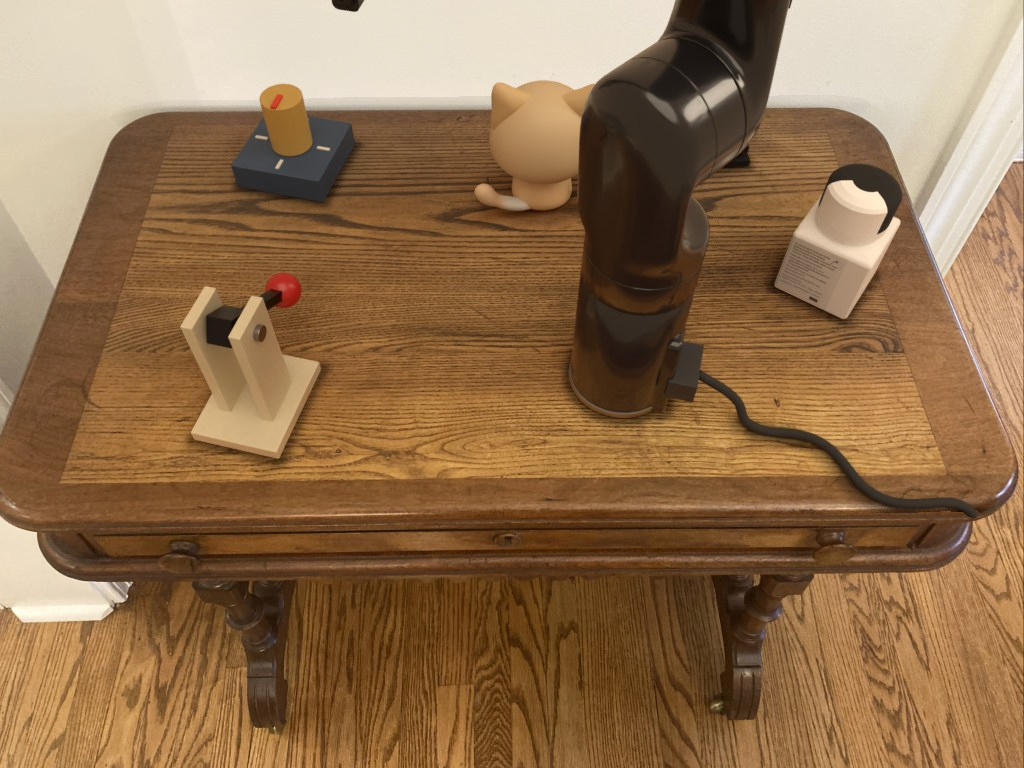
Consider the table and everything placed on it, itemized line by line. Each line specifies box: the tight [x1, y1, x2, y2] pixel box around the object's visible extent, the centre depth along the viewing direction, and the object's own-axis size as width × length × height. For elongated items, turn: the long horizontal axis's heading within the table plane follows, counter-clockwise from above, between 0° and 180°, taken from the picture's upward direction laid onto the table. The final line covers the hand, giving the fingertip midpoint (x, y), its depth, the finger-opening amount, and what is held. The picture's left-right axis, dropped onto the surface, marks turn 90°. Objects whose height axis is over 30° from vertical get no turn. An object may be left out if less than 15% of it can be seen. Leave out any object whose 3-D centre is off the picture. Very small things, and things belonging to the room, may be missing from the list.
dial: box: [259, 83, 313, 156], centre depth 91 cm, size 4×4×6 cm
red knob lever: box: [206, 272, 303, 349], centre depth 73 cm, size 13×3×3 cm
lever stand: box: [179, 285, 322, 460], centre depth 72 cm, size 10×8×13 cm
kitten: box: [474, 79, 595, 212], centre depth 87 cm, size 15×10×15 cm, turn 89°
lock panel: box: [230, 115, 356, 203], centre depth 95 cm, size 10×10×3 cm
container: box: [774, 163, 903, 320], centre depth 81 cm, size 8×8×13 cm
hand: (349, 5), depth 66 cm, fingers closed
